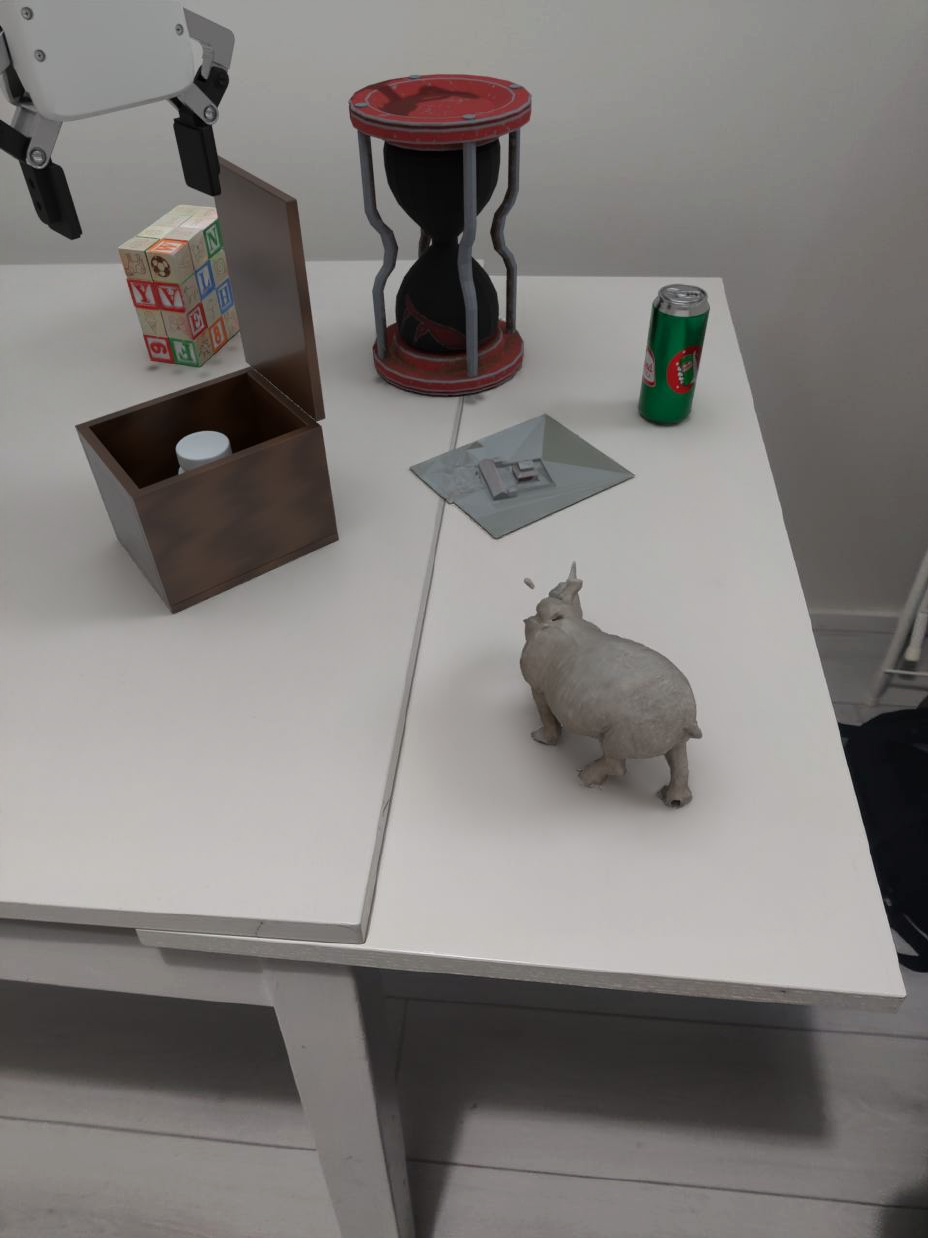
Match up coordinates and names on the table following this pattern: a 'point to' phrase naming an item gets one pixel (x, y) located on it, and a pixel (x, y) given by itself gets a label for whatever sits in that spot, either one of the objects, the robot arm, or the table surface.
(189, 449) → the pill bottle
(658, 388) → the soda can
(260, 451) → the chest
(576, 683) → the rhinoceros figurine
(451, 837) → the table surface
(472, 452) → the grey flat relief plate
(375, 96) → the hourglass
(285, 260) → the lid
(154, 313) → the stack of blocks
